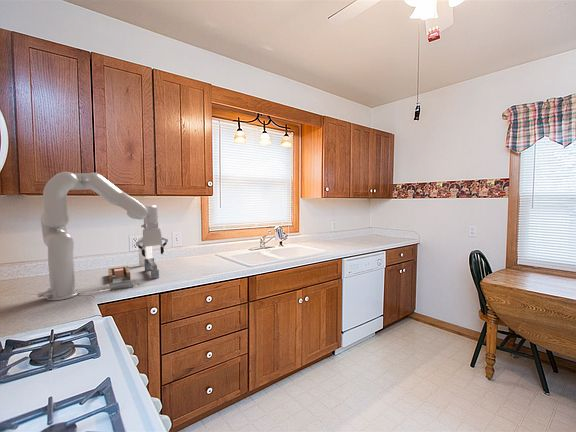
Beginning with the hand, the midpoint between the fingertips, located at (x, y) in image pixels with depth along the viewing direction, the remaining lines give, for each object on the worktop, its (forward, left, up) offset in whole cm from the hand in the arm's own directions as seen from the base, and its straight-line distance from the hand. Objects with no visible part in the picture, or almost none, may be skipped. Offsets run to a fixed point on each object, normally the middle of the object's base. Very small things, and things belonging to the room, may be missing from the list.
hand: (153, 255), depth 169 cm
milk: (+13, +28, -13) cm, 33 cm away
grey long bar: (+1, +3, -13) cm, 13 cm away
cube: (-13, +14, -12) cm, 22 cm away
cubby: (-16, +7, -13) cm, 22 cm away
